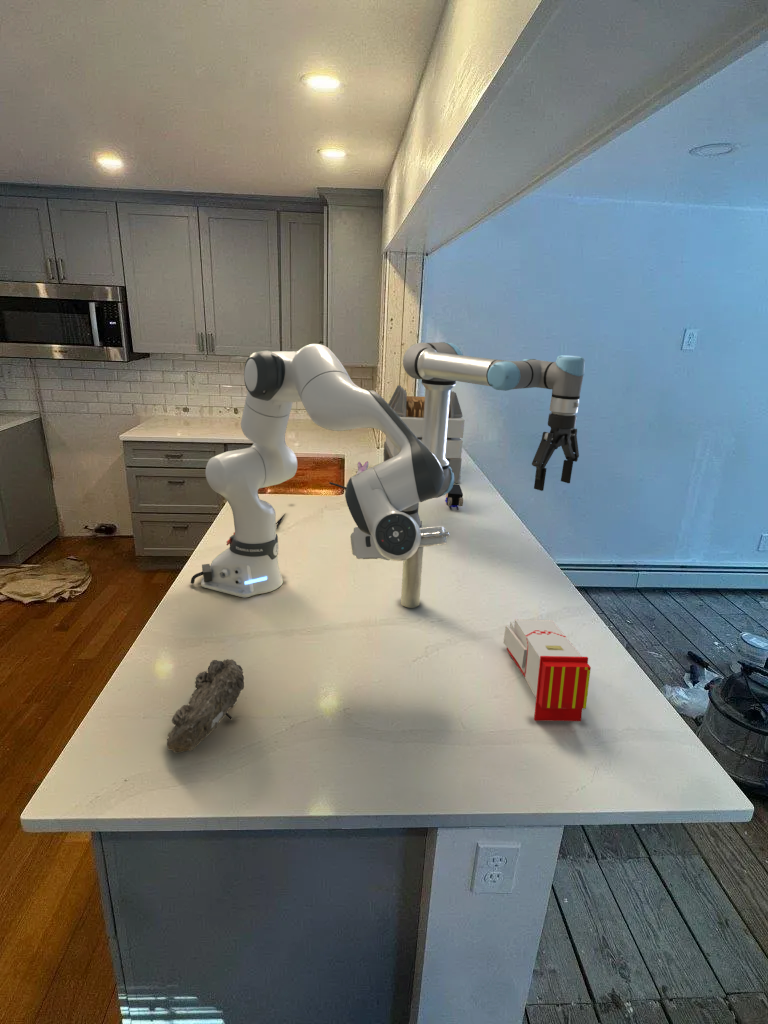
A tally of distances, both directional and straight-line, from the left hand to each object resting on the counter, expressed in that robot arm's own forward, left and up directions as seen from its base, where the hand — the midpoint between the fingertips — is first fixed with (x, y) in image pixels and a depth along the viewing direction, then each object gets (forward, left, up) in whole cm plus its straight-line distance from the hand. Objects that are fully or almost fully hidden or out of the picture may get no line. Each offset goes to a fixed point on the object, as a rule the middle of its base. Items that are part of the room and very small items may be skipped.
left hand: (399, 541), depth 126 cm
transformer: (-15, +149, -26) cm, 152 cm away
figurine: (-32, +105, -26) cm, 113 cm away
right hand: (+36, +51, +2) cm, 62 cm away
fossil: (-29, -34, -26) cm, 52 cm away
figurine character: (+5, +105, -26) cm, 108 cm away
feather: (-55, +72, -26) cm, 94 cm away
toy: (+33, -5, -26) cm, 43 cm away
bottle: (+1, +20, -26) cm, 33 cm away
